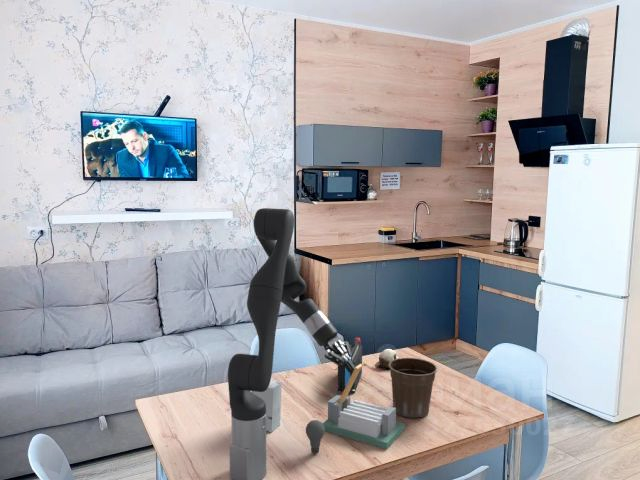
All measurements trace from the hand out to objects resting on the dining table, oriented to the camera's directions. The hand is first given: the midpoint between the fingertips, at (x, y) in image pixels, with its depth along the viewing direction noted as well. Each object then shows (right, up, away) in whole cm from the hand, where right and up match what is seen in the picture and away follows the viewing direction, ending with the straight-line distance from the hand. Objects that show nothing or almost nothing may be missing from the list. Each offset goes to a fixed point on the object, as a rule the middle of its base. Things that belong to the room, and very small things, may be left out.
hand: (353, 371), depth 169 cm
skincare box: (-28, -18, +3) cm, 34 cm away
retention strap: (-1, -5, +1) cm, 5 cm away
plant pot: (+21, -17, +14) cm, 31 cm away
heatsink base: (+3, -19, +1) cm, 19 cm away
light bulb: (-12, -21, -14) cm, 27 cm away
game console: (+1, -14, +38) cm, 41 cm away
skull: (+19, -12, +56) cm, 60 cm away
